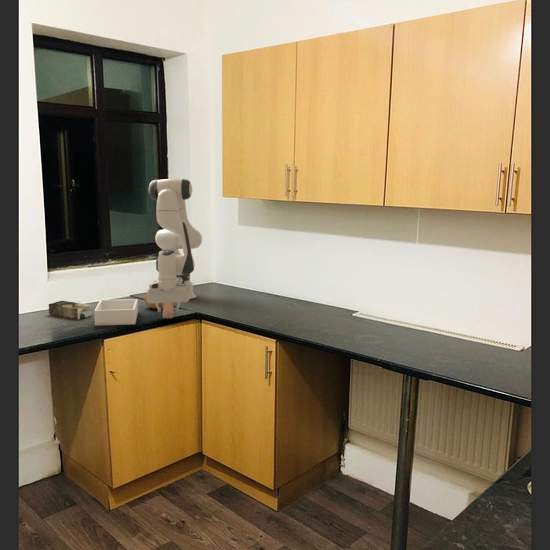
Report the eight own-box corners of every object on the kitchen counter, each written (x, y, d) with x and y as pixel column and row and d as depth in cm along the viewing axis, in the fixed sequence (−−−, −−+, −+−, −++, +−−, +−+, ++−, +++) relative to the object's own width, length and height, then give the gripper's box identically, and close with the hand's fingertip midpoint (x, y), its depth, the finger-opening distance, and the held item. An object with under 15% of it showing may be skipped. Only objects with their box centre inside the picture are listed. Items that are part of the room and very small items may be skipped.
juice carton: (94, 315, 271) (93, 303, 270) (80, 320, 263) (79, 308, 261) (63, 311, 279) (62, 299, 278) (48, 316, 271) (47, 304, 269)
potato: (161, 312, 280) (161, 296, 279) (139, 308, 286) (139, 293, 285) (173, 308, 289) (173, 293, 287) (151, 304, 295) (151, 290, 293)
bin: (100, 313, 275) (100, 299, 273) (138, 312, 278) (137, 299, 277) (94, 325, 253) (94, 310, 252) (135, 324, 257) (134, 309, 255)
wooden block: (163, 316, 272) (162, 300, 271) (173, 315, 273) (173, 300, 272) (162, 318, 267) (162, 302, 266) (173, 318, 268) (173, 302, 267)
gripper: (189, 282, 272) (189, 309, 275) (146, 282, 268) (147, 310, 271) (189, 284, 266) (189, 312, 268) (145, 285, 262) (146, 313, 265)
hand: (168, 311), depth 270 cm, fingers open, 7 cm apart
